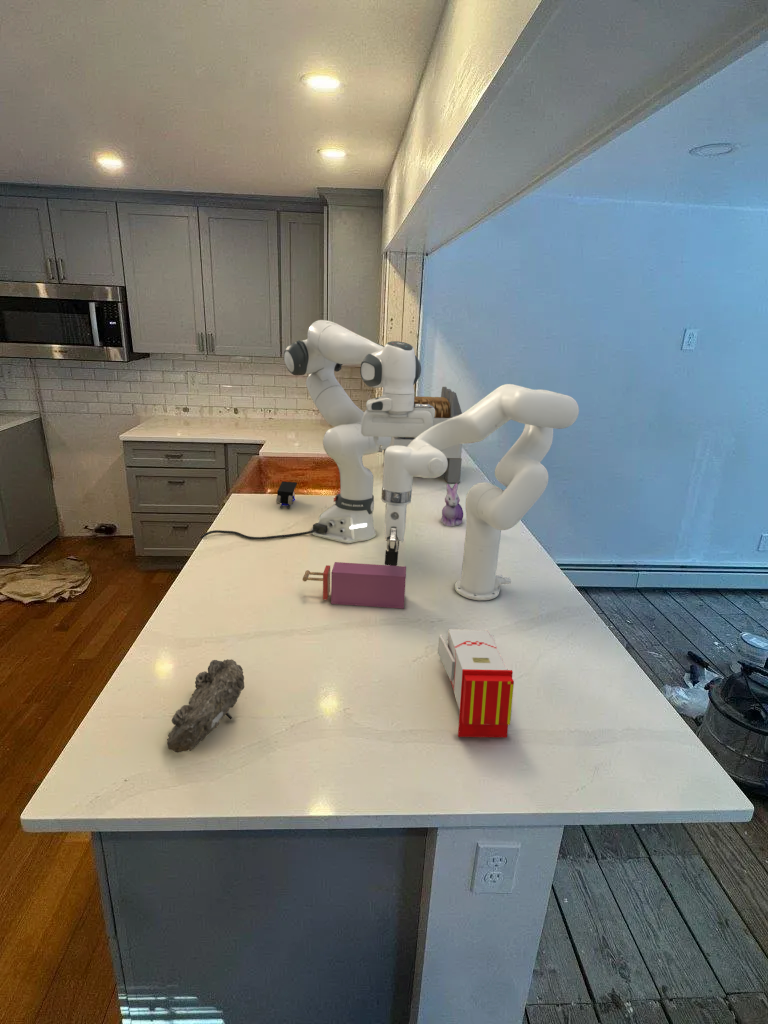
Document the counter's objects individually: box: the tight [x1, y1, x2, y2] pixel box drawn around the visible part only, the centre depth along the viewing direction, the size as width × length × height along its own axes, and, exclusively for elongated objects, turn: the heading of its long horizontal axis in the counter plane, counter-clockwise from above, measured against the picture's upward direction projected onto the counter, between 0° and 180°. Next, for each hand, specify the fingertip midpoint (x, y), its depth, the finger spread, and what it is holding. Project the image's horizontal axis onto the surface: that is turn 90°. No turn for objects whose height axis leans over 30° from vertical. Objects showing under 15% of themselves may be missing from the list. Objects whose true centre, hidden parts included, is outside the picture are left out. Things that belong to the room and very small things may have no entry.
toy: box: [437, 628, 515, 738], centre depth 117 cm, size 12×13×30 cm
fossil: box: [166, 658, 245, 754], centre depth 106 cm, size 22×10×15 cm
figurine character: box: [275, 480, 298, 509], centre depth 223 cm, size 7×8×15 cm
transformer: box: [383, 386, 463, 484], centre depth 268 cm, size 34×33×41 cm
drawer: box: [302, 564, 331, 601], centre depth 152 cm, size 24×5×8 cm, turn 87°
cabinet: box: [330, 561, 407, 609], centre depth 152 cm, size 19×6×9 cm, turn 87°
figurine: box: [440, 483, 464, 527], centre depth 210 cm, size 9×10×15 cm
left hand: (396, 452), depth 161 cm, fingers open, 8 cm apart
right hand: (391, 557), depth 149 cm, fingers open, 9 cm apart
